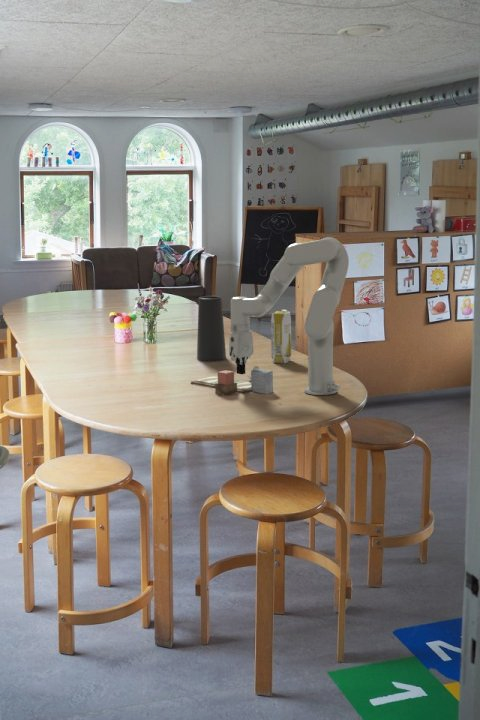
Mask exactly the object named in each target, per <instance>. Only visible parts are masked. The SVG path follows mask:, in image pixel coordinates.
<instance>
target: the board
mask: <svg viewBox="0 0 480 720" xmlns="http://www.w3.org/2000/svg"><path fill="white" fill-rule="evenodd" d="M234 382H235V383H237V393H239V394H243V395H244V394H247V393H251V392H252V391H251V382H249V381H243V380H238V379H237V380H236V379H234ZM215 383H218V376H216V375H212V376H208V377H207V376H206V377H203V378H199V379H196V380H192V381H190V384H191V385H192V384H193V385H197V386H203V387H208V388H214V389H215Z"/></svg>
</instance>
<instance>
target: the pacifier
mask: <svg viewBox="0 0 480 720" xmlns="http://www.w3.org/2000/svg"><path fill="white" fill-rule="evenodd" d="M255 369H260V367H259V366H257V365H255V366H253V368H252V370H255ZM247 378H248V379H250V382H249V383H251V376H249V375H247Z"/></svg>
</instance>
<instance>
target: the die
mask: <svg viewBox="0 0 480 720" xmlns="http://www.w3.org/2000/svg"><path fill="white" fill-rule="evenodd" d="M217 377H218V383H219V384H224V385H228V384H232V383H234V380H235V371H233V370H227V369H226V370H221V371H217Z"/></svg>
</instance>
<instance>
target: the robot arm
mask: <svg viewBox="0 0 480 720" xmlns="http://www.w3.org/2000/svg"><path fill="white" fill-rule="evenodd" d="M320 263H321V264H322V263H326V265H325V268H324V272H323V275H322V279H321V283H320V285H319V288H318V289H316V291H315V292H314V293H313V295H312V299H311V302H310V304H309V308H308V311H307V315H306V319H305V321H304V332H305V335H306V336H307V337H308V345H307V348H308V349H307V350H308V352H307V353H308V354H307V358H308V360H307V367H308V368H307V369H308V370H307V371H308V372H307V381H308V382H307V385H308V386H306V387H304V393H305V394H308V395H312V396H329V395H333V394H336V393H337V392H338V391H340V389H341V385H340V384H336V381H335V380H333V379H334V376H333V375H334V373H333V372H334V370H333V369H334V368H333V367H334V358H333V357H334V333H335V332H334V331H335V323H334V320H333V318H334V315H335V312H336V309H337V307H338V306H339V304H340V301H341V296H342V293H343V289H344V285H345V283H346V282H345V281H346V278H347V274H348V270H349V263H350V262H349V255H348V251H347V249H346V247H345V246H344V245H343V243H342V242H341V241H339V240H338V239H337V238H335V237H332V236H327V237H324V238H322V239H318V240H312V241H307V242H294V243H291V244H290V245H288V246H287V247H286V248H285V251H284V253H283V256H282V257H281V258H280V259H279V261H278V262H277V264H276V265H275V266H274V267H273V269H272V270H271V272H270V274H269V278H268V281H267V282H266V284H265V285H264V287H263V288H262V289H261V290H260V292H259V293H258V294H257V295H256V296H255V297H253V298H249V297H248V296H233V297H231V299H230V328H229V329H230V333H229V342H228V353H229V357H230V361H231V362H234V363H235V364H236V374H238V375H245V374H246V364H247V361H248V359H250V358H251V356H253V354H254V339H253V333H252V330H251V317H254V318H261V317H263V316H264V315H266V314H267V313H268V312H269V311H271V310H272V308H273V307H274V306H275V304H276V303H277V302H278V301H279V298H280V297H281V296H282V295H283V294H284V292H285V290H287V288H288V287H289V285H290V284H291V283H292V281H293V280H294V279H295V277H296V276H297V275H298V273H299V272H300V271H301V270H302V268H303V267H304V266H310V265H315V264H320Z"/></svg>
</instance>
